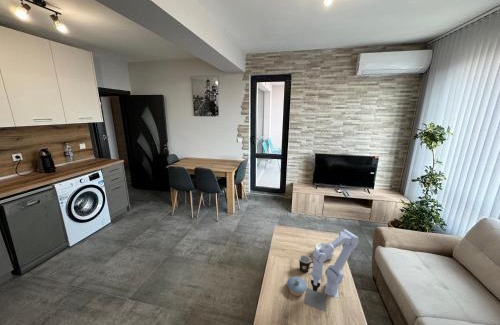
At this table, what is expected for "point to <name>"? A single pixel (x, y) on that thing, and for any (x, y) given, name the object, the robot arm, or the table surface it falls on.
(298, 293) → the bowl
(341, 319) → the table surface
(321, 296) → the mat
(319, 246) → the paper bowls
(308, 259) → the coffee mug
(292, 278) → the lid
